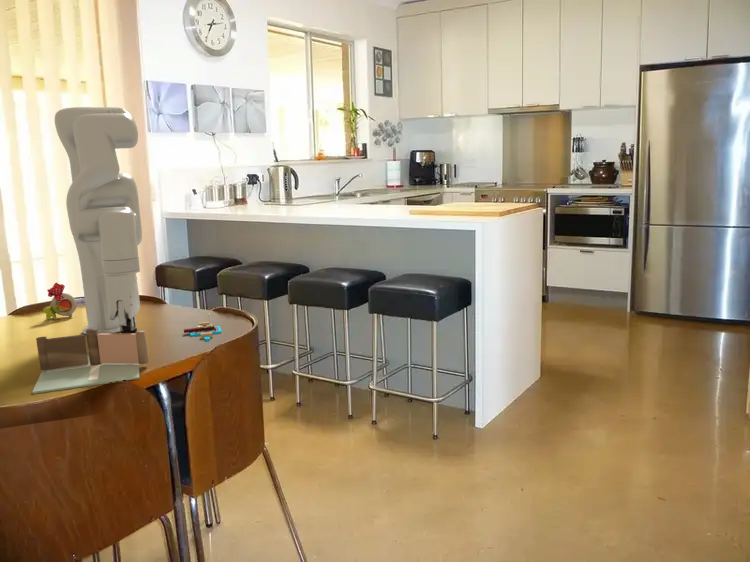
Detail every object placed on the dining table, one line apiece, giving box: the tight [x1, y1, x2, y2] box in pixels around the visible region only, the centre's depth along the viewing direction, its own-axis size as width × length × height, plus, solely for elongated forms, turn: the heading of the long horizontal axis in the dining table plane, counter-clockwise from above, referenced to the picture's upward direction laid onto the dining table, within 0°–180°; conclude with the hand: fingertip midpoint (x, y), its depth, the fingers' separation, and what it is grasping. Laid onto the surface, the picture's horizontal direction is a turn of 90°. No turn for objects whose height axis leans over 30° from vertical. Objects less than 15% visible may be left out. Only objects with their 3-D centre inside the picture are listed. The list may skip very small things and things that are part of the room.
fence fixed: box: [35, 328, 101, 371], centre depth 147 cm, size 2×12×8 cm, turn 110°
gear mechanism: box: [183, 313, 222, 342], centre depth 175 cm, size 20×5×9 cm
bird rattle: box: [42, 282, 78, 320], centre depth 204 cm, size 6×11×9 cm
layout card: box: [31, 354, 140, 395], centre depth 146 cm, size 25×20×1 cm
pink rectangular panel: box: [97, 330, 149, 365], centre depth 147 cm, size 2×11×7 cm, turn 78°
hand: (130, 346), depth 150 cm, fingers closed
